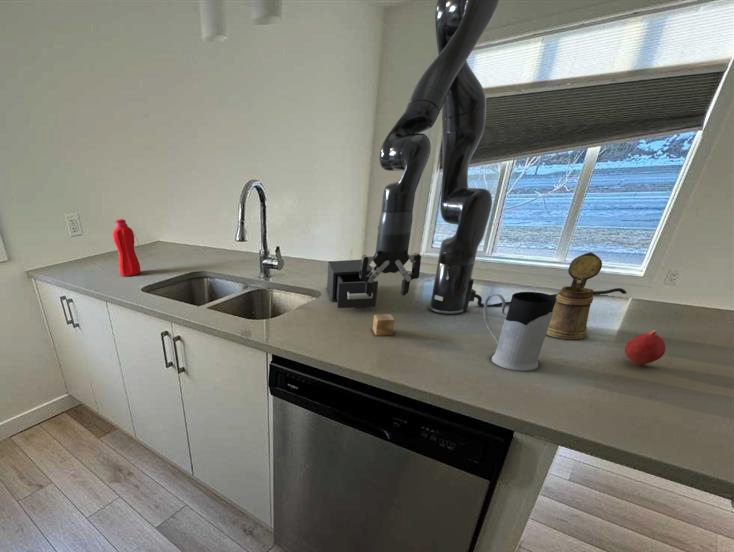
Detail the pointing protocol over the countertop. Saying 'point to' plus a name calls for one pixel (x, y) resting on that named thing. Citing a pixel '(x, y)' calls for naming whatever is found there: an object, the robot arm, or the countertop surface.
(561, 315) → the wooden mug
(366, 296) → the dark grey drawer
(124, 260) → the water bottle
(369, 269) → the small drawer cabinet
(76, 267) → the countertop surface
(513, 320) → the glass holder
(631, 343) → the onion
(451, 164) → the robot arm
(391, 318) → the block
